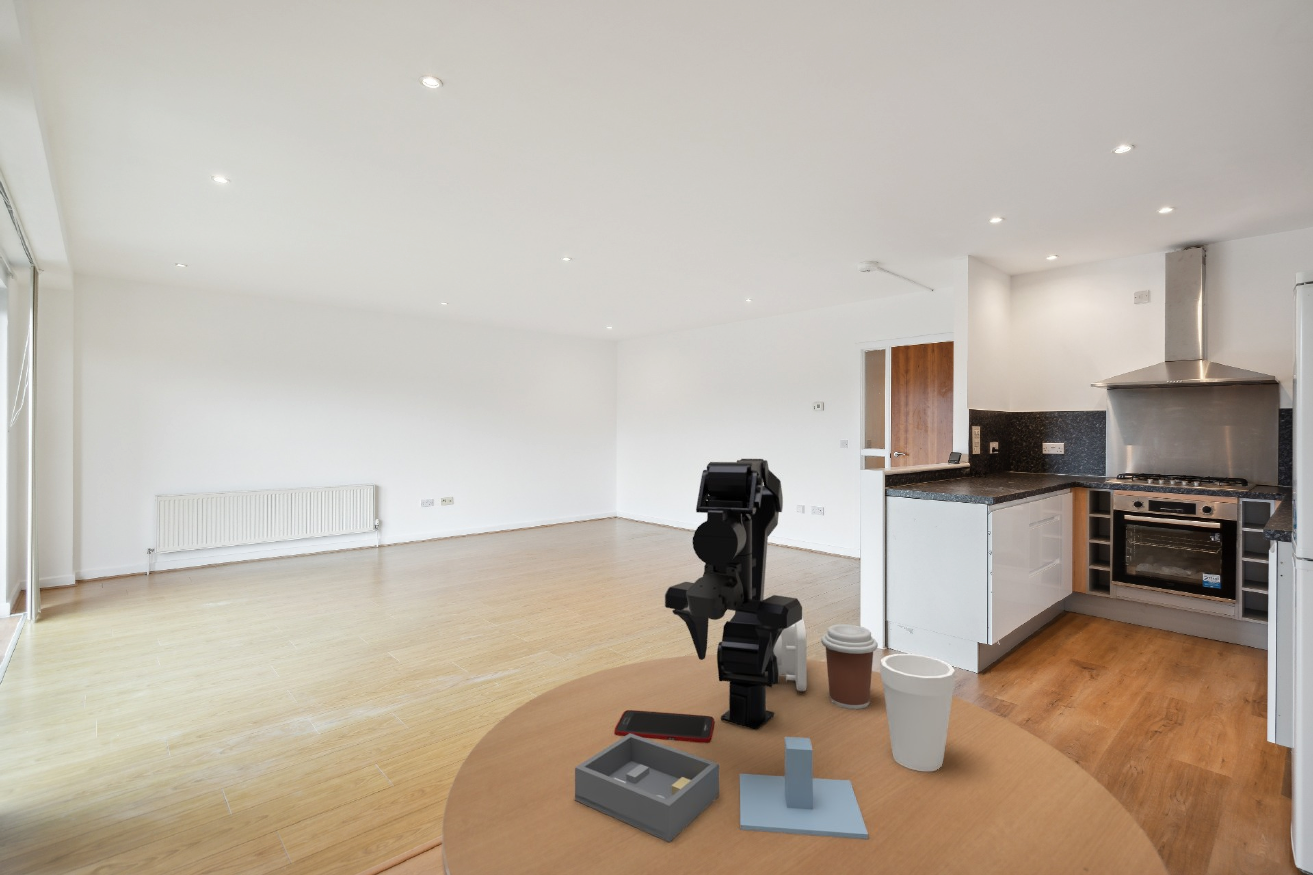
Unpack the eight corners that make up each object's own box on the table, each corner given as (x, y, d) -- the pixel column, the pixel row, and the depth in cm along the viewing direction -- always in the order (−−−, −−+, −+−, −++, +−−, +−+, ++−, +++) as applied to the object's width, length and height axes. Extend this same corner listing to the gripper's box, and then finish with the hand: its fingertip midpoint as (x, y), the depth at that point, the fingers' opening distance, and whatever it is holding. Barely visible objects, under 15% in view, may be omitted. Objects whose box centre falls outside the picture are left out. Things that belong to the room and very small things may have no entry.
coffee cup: (876, 693, 109) (875, 624, 109) (879, 715, 100) (879, 640, 100) (822, 687, 111) (821, 620, 111) (821, 708, 103) (820, 635, 103)
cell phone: (624, 715, 101) (624, 709, 101) (715, 722, 98) (715, 716, 98) (612, 737, 93) (612, 731, 93) (710, 745, 91) (710, 739, 91)
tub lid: (739, 781, 82) (739, 719, 82) (850, 788, 80) (849, 725, 80) (740, 833, 71) (740, 762, 71) (868, 843, 69) (867, 770, 69)
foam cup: (954, 751, 88) (954, 659, 88) (955, 784, 80) (955, 682, 80) (883, 738, 92) (883, 650, 92) (877, 767, 84) (877, 670, 84)
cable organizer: (807, 699, 106) (807, 631, 106) (745, 695, 108) (744, 628, 108) (802, 668, 121) (802, 608, 121) (747, 665, 123) (747, 606, 123)
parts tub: (629, 762, 85) (629, 733, 85) (719, 795, 77) (719, 763, 77) (575, 800, 76) (575, 767, 76) (669, 842, 68) (669, 805, 68)
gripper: (642, 554, 85) (641, 668, 85) (768, 570, 74) (768, 701, 74) (685, 543, 94) (685, 647, 94) (803, 556, 83) (803, 673, 83)
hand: (730, 665), depth 86 cm, fingers open, 9 cm apart
